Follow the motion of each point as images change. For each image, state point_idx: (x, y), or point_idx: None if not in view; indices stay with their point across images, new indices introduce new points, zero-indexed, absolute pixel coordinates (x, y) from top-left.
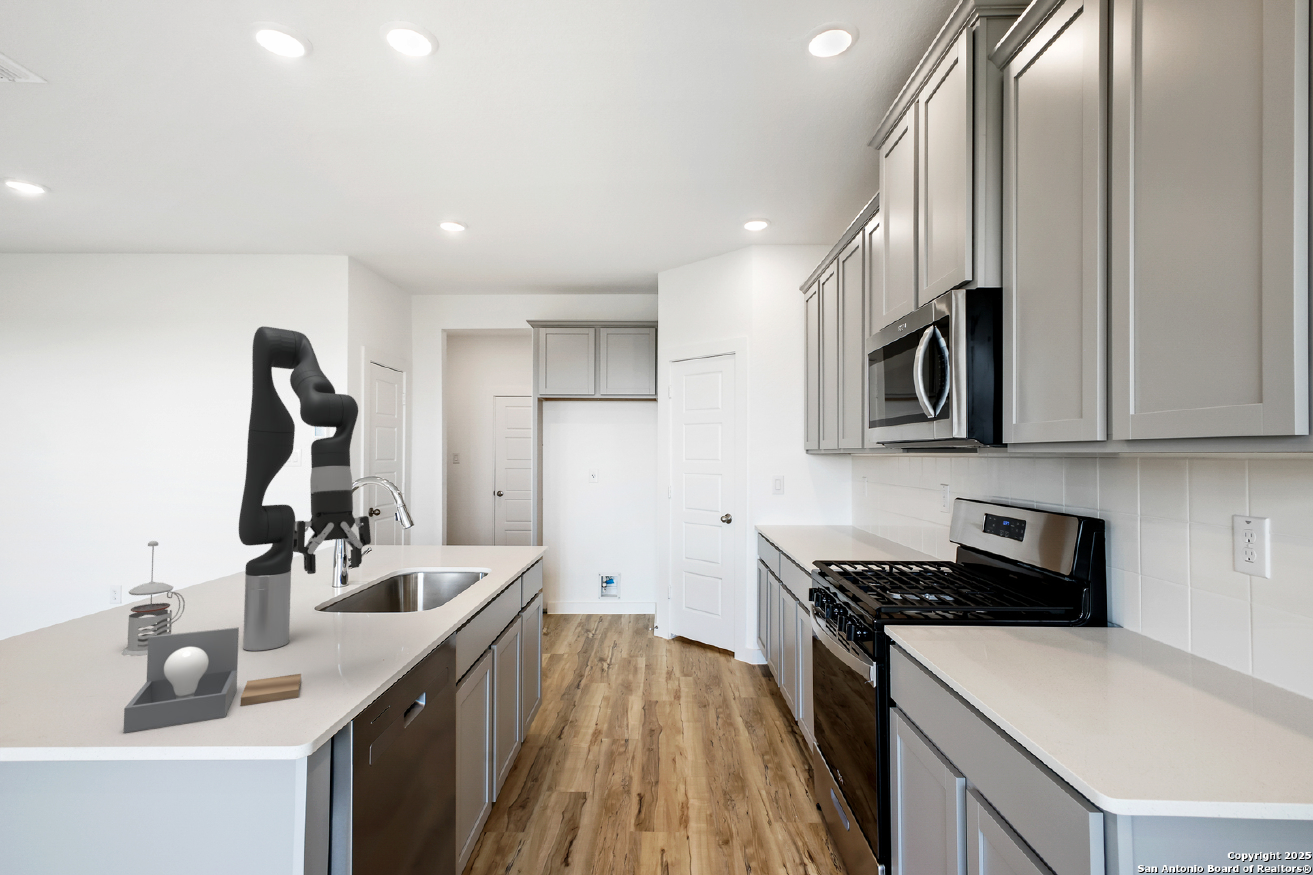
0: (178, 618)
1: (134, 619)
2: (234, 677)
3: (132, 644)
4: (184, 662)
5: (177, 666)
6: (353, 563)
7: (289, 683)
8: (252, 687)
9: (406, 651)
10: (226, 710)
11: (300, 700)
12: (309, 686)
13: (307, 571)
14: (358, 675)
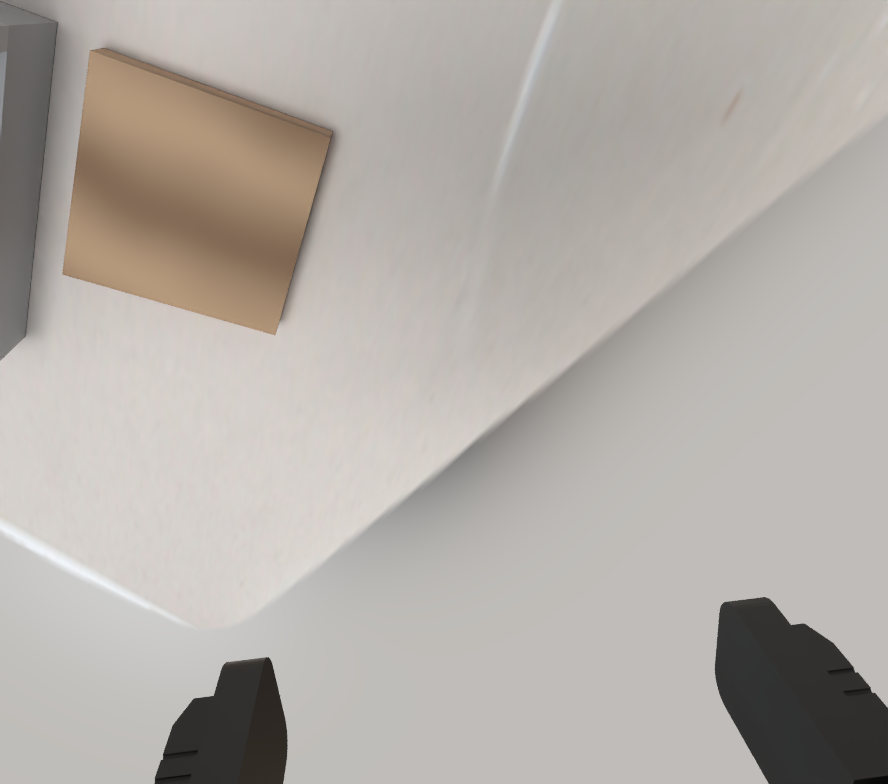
0: None
1: None
2: (6, 133)
3: None
4: None
5: None
6: (738, 674)
7: (259, 240)
8: (110, 175)
9: (879, 59)
10: (22, 313)
11: (280, 356)
12: (345, 230)
13: (224, 674)
14: (543, 243)
